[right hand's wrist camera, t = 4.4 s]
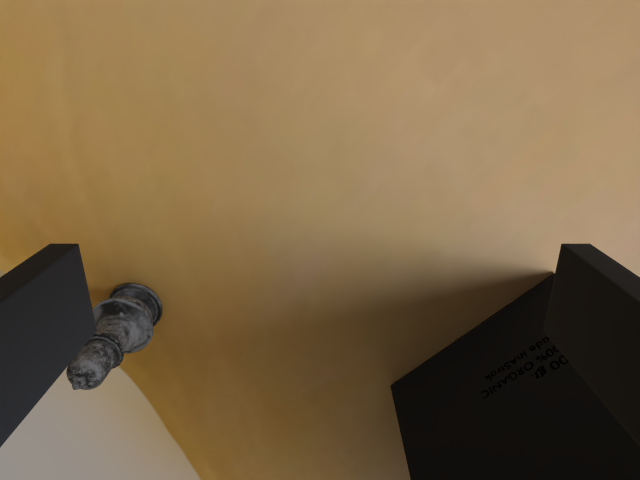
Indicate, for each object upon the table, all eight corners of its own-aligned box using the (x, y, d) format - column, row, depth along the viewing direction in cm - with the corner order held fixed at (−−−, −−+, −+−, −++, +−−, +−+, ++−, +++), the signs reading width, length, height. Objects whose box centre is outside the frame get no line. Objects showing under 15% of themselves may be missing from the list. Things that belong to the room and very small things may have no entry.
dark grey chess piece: (139, 342, 46) (81, 432, 35) (93, 305, 44) (17, 386, 33) (177, 309, 45) (130, 391, 33) (131, 269, 43) (65, 342, 32)
